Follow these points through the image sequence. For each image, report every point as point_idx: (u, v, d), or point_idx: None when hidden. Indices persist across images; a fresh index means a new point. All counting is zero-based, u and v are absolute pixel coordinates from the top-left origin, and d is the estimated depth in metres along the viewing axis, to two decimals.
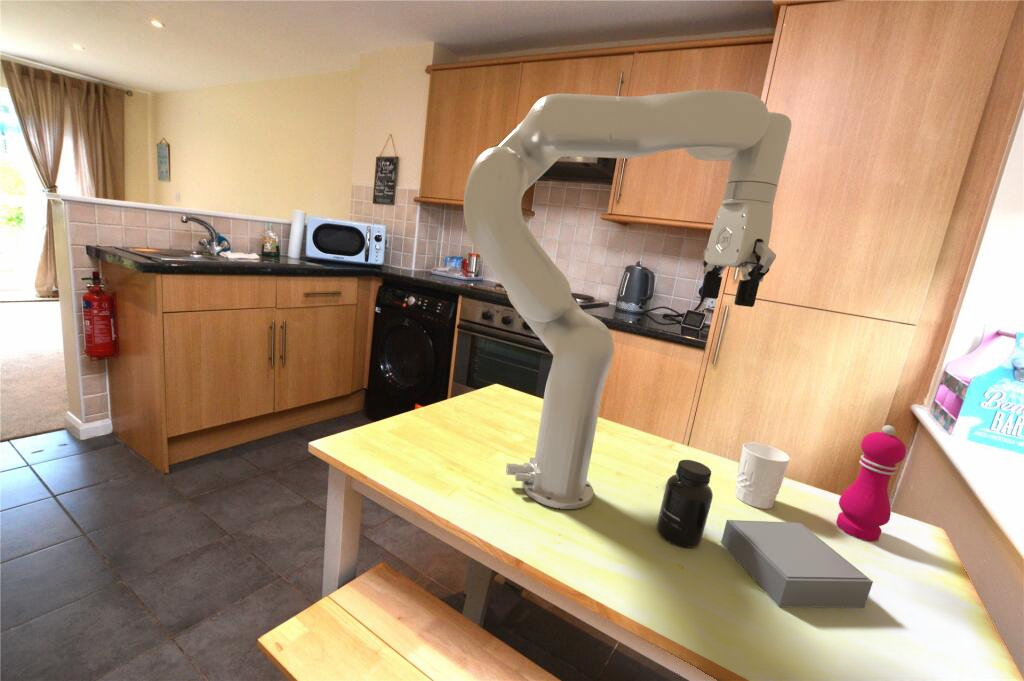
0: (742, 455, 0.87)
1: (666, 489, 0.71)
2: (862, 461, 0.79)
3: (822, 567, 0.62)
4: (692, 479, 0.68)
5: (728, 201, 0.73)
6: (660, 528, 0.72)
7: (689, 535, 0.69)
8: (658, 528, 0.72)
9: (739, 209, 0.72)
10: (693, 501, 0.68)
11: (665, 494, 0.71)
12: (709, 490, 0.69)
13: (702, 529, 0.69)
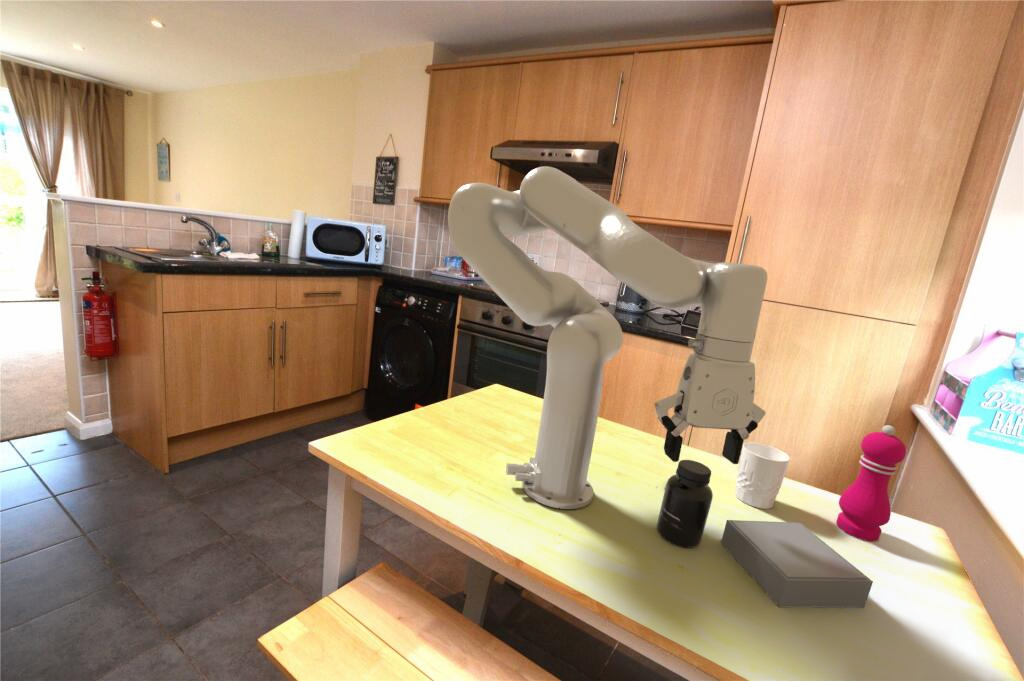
0: (742, 455, 0.87)
1: (666, 489, 0.71)
2: (862, 461, 0.79)
3: (822, 567, 0.62)
4: (692, 479, 0.68)
5: (740, 364, 0.63)
6: (660, 528, 0.72)
7: (689, 535, 0.69)
8: (658, 528, 0.72)
9: (744, 371, 0.65)
10: (693, 501, 0.68)
11: (665, 494, 0.71)
12: (709, 490, 0.69)
13: (702, 529, 0.69)
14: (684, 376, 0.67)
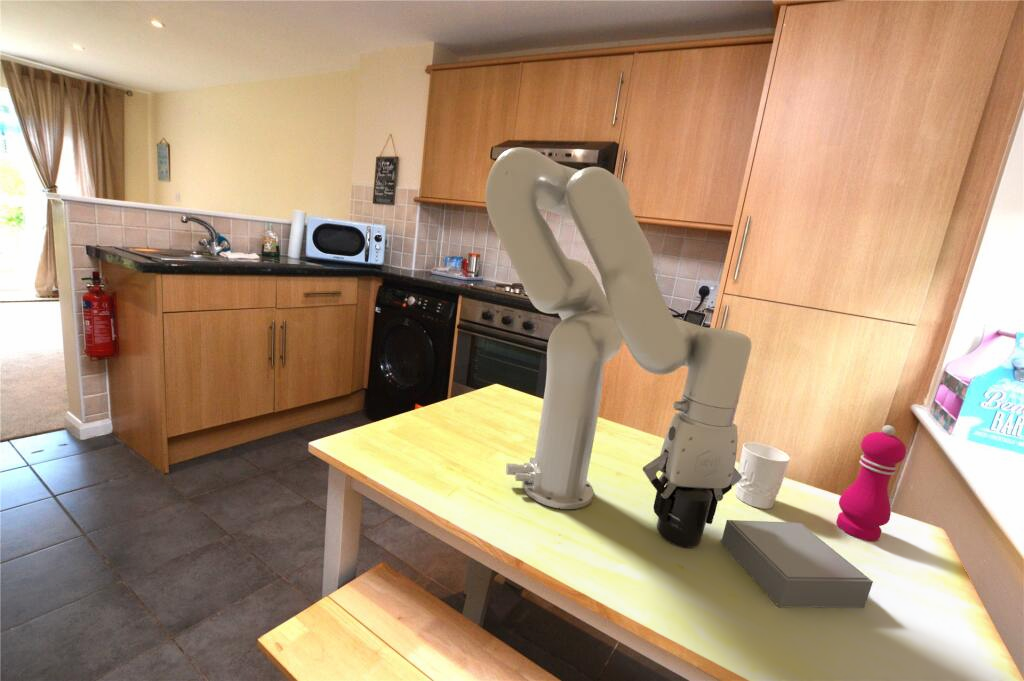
0: (742, 455, 0.87)
1: None
2: (862, 461, 0.79)
3: (822, 567, 0.62)
4: None
5: (722, 428, 0.65)
6: (660, 528, 0.72)
7: (689, 535, 0.69)
8: (658, 528, 0.72)
9: (727, 434, 0.67)
10: (693, 501, 0.68)
11: None
12: (709, 490, 0.69)
13: (702, 529, 0.69)
14: (669, 435, 0.69)
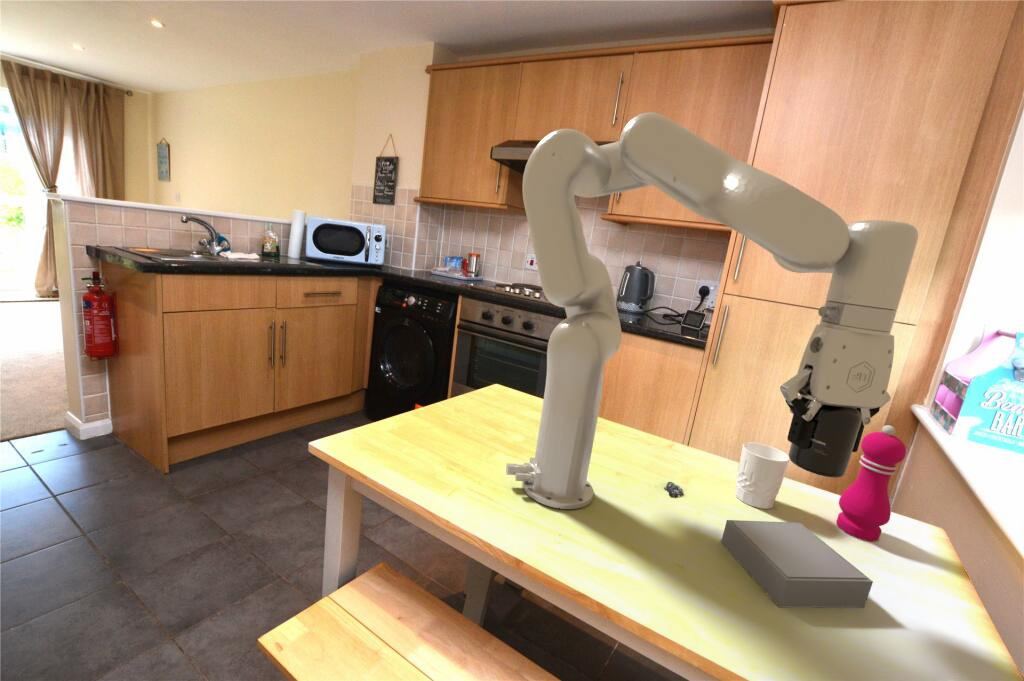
0: (742, 455, 0.87)
1: None
2: (862, 461, 0.79)
3: (822, 567, 0.62)
4: None
5: (883, 334, 0.56)
6: (797, 457, 0.63)
7: (836, 461, 0.60)
8: (793, 458, 0.63)
9: (884, 342, 0.58)
10: (844, 422, 0.59)
11: None
12: None
13: (850, 456, 0.61)
14: (811, 349, 0.60)
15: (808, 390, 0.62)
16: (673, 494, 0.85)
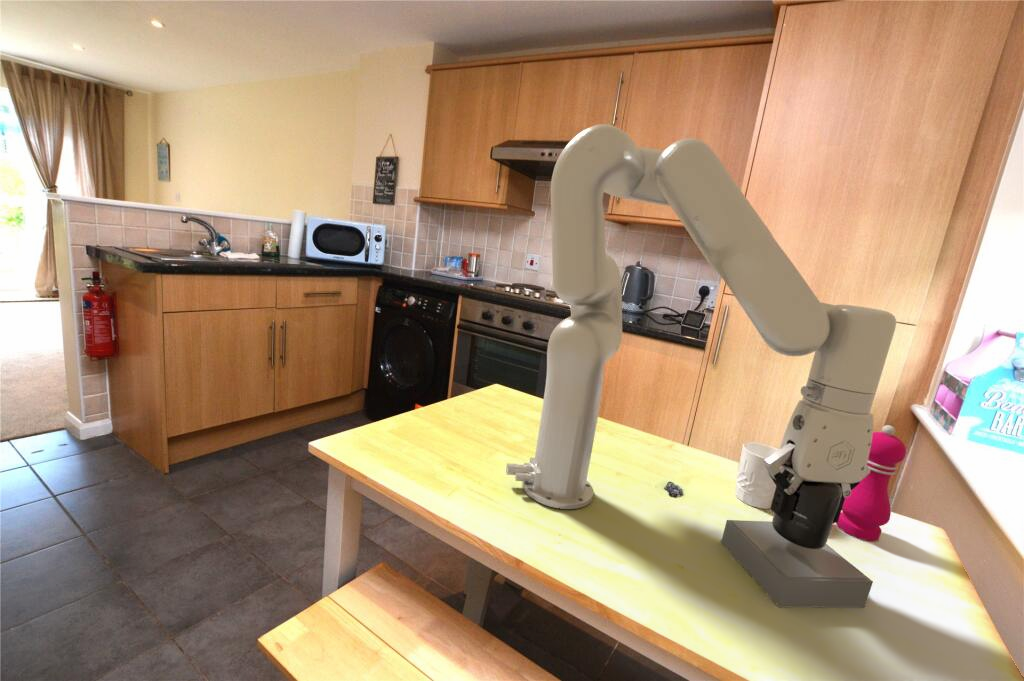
0: (742, 455, 0.87)
1: None
2: None
3: (822, 567, 0.62)
4: None
5: (862, 416, 0.58)
6: (780, 527, 0.65)
7: (817, 535, 0.62)
8: (776, 527, 0.65)
9: (863, 422, 0.60)
10: (824, 497, 0.61)
11: None
12: (838, 485, 0.62)
13: (830, 528, 0.63)
14: (793, 425, 0.62)
15: (791, 463, 0.64)
16: (673, 494, 0.85)
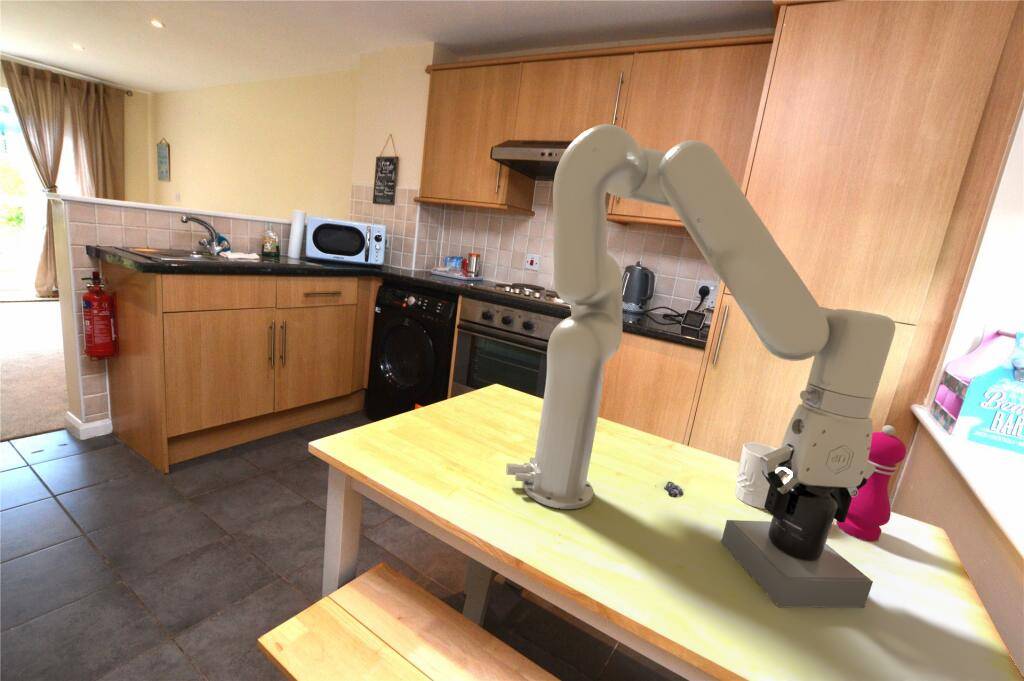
0: (742, 455, 0.87)
1: None
2: None
3: (822, 567, 0.62)
4: None
5: (861, 420, 0.58)
6: (775, 538, 0.65)
7: (812, 546, 0.62)
8: (772, 538, 0.66)
9: (862, 427, 0.60)
10: (819, 509, 0.61)
11: None
12: (834, 497, 0.63)
13: (825, 540, 0.63)
14: (793, 429, 0.63)
15: (790, 467, 0.64)
16: (672, 494, 0.85)
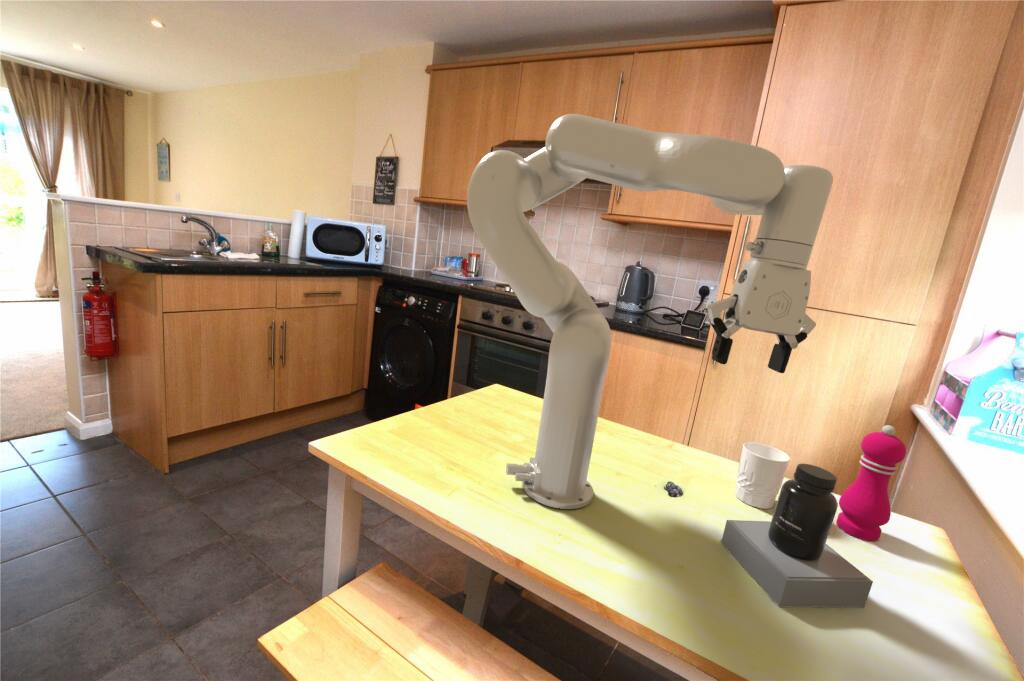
0: (742, 455, 0.87)
1: (783, 495, 0.65)
2: (862, 461, 0.79)
3: (822, 567, 0.62)
4: (816, 485, 0.62)
5: (798, 266, 0.64)
6: (775, 538, 0.65)
7: (812, 546, 0.62)
8: (772, 538, 0.66)
9: (801, 275, 0.66)
10: (819, 510, 0.61)
11: (781, 501, 0.65)
12: (834, 497, 0.63)
13: (825, 540, 0.63)
14: (739, 280, 0.68)
15: None
16: (672, 493, 0.85)
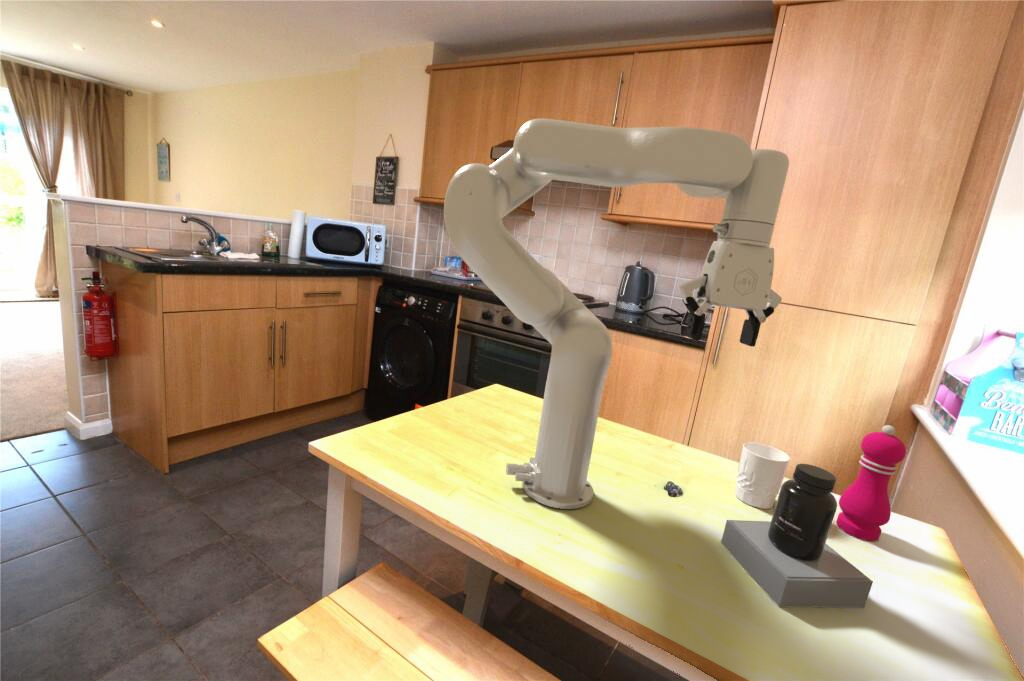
0: (742, 455, 0.87)
1: (782, 496, 0.65)
2: (862, 461, 0.79)
3: (822, 567, 0.62)
4: (815, 486, 0.62)
5: (761, 243, 0.68)
6: (775, 538, 0.65)
7: (811, 546, 0.62)
8: (771, 538, 0.66)
9: (764, 253, 0.70)
10: (818, 510, 0.61)
11: (781, 501, 0.65)
12: (833, 497, 0.63)
13: (825, 540, 0.63)
14: (708, 261, 0.72)
15: None
16: (672, 493, 0.85)
